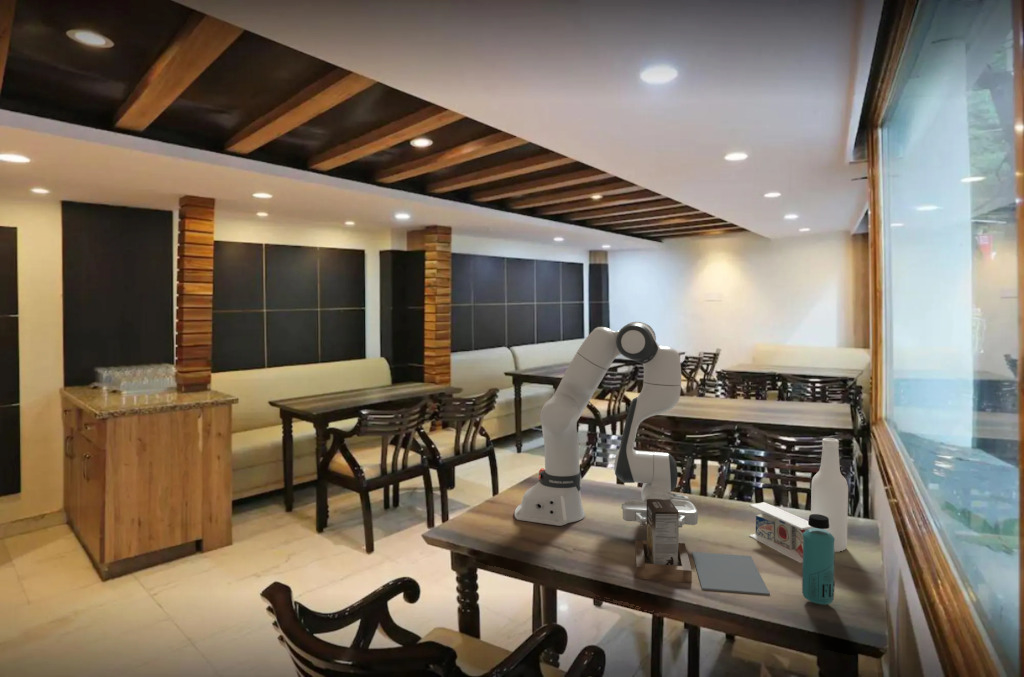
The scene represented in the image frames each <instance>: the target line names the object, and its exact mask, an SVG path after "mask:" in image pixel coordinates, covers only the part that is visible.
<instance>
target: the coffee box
mask: <svg viewBox="0 0 1024 677" xmlns="http://www.w3.org/2000/svg"><path fill="white" fill-rule="evenodd" d="M679 528H680V527H679V512H678V510H677V509H676V507H675V506H674V505H673V503H672V502H671V500H670V499H669V500H662V499H647V522H646V541H647V555H646V560H647V561H648V564H659V565H672V566H679V561H678V543H679V539H680V538H679V532H680V529H679Z"/></svg>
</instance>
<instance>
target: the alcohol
mask: <svg viewBox="0 0 1024 677" xmlns="http://www.w3.org/2000/svg"><path fill="white" fill-rule="evenodd" d="M821 441H822V442H821V445H822V450H821V458H820V459H821V460H820V468H819V470H818V471H817V472H816V474H814V476H812V480H811V491H810V492H811V494H810V496H811V499H810V502H811V503H810V515H811V514H820V515H824V516H826V517H828V518H829V528H828V529H824V530H826V531H828V532H829V533H830V534H831V535H832V536H833V537H834V538H835V541H834V553H841V552H840V551H842V552H844V551H845V550H846V549H847V546H848V543H847V542H848V514H849V513H848V512H849V511H848V508H849V507H848V506H849V486H848V482H847V479H846V478H845V477H844V475H842V473H841V470H840V453H839V447H840V444H839V443H840V441H839V440H838V439H837V438H833V437H825V438H822V440H821ZM843 550H844V551H843Z"/></svg>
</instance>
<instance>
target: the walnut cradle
mask: <svg viewBox="0 0 1024 677" xmlns="http://www.w3.org/2000/svg"><path fill="white" fill-rule="evenodd" d="M634 544H635V547H634V548H635V550H634V551H635V568H636V579H641V580H655V581H656V580H657V581H664V582H665V581H666V582H679V583H689V584H690V583H691V584H692V583H693V582H692V581H693V580H692V579H693V576H692V575H693V572H692V567H691V562H690V559H689V554H688V551H687V548H686V547H687V546H686V543H685V542H684V543H683V542H678V566H672V565H659V564H649V563H646V562H645V561H646V560H645V555H646V556H647V540H642V539H641V540H640V539H635V542H634Z"/></svg>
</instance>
